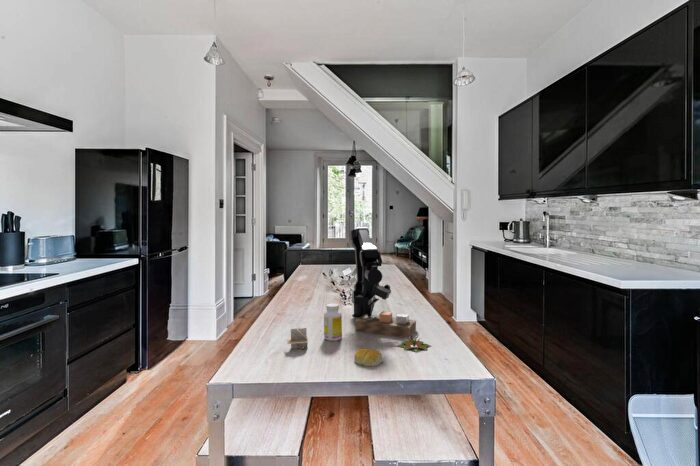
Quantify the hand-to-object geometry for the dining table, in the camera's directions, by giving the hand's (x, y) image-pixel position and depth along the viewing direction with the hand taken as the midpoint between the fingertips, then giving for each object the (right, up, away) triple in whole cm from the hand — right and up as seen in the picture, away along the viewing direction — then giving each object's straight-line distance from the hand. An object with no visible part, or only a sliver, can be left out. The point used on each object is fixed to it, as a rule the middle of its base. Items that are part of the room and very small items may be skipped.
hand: (369, 316), depth 158 cm
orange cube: (+6, -2, -3) cm, 7 cm away
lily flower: (+15, -7, -20) cm, 26 cm away
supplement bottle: (-14, -6, -12) cm, 19 cm away
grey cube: (0, -4, 0) cm, 4 cm away
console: (+6, -5, -3) cm, 8 cm away
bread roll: (-2, -8, -33) cm, 34 cm away
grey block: (+13, -2, -6) cm, 14 cm away
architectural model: (-26, -7, -22) cm, 35 cm away
